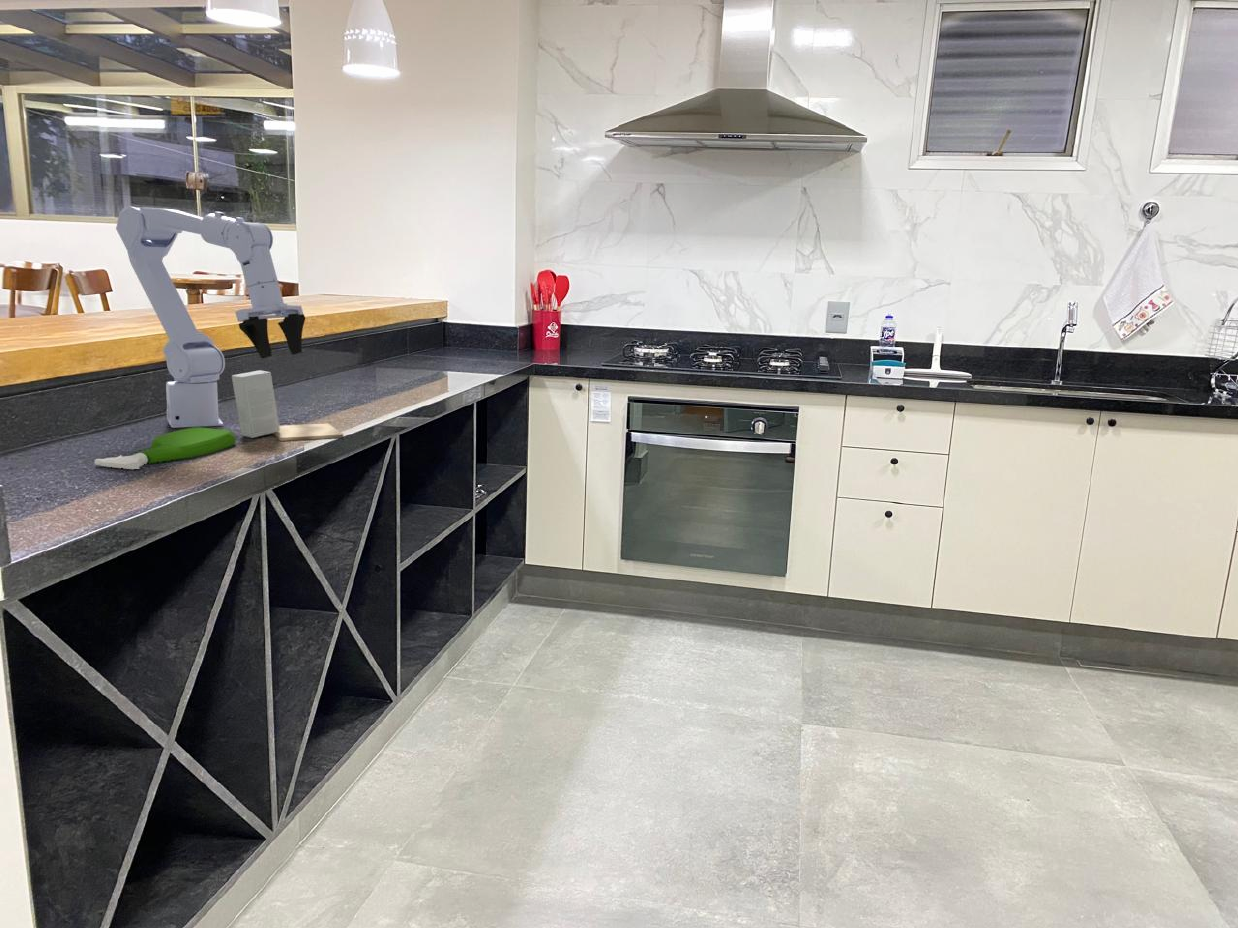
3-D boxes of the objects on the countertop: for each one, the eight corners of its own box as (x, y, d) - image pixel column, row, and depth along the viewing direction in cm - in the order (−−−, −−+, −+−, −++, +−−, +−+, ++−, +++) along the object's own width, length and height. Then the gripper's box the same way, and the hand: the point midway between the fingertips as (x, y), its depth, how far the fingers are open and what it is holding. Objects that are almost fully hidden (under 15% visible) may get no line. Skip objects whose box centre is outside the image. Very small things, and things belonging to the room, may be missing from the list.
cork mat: (280, 440, 169) (280, 437, 169) (267, 429, 179) (267, 426, 179) (343, 437, 175) (343, 434, 175) (328, 426, 185) (328, 423, 185)
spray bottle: (241, 446, 164) (144, 477, 141) (190, 440, 167) (86, 470, 143) (241, 431, 164) (143, 459, 140) (189, 425, 166) (85, 452, 143)
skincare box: (268, 429, 176) (260, 369, 173) (280, 431, 174) (271, 371, 170) (240, 435, 172) (230, 374, 168) (251, 438, 169) (242, 376, 166)
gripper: (246, 281, 160) (266, 354, 161) (306, 279, 172) (324, 347, 174) (220, 290, 163) (240, 362, 164) (280, 288, 176) (299, 355, 177)
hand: (282, 355), depth 169 cm, fingers open, 7 cm apart
